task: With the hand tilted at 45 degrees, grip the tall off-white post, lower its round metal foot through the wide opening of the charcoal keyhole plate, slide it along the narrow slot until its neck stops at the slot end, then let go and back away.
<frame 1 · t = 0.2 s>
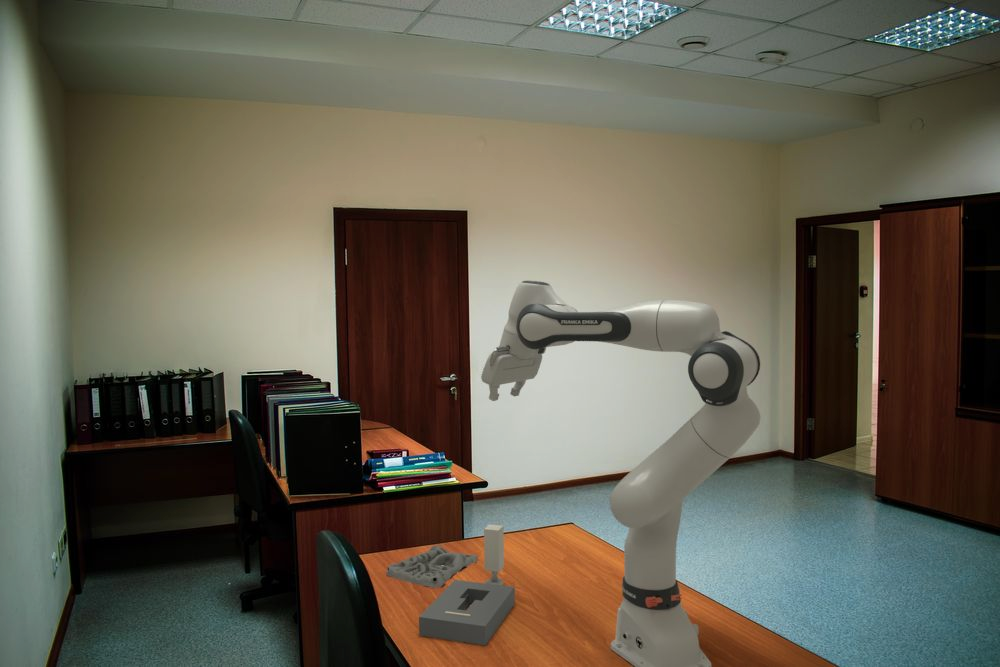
hand: (503, 397, 175), 52 cm above the table, tool tilted 20°, fingers open, 8 cm apart
post: (494, 587, 188), on the table
wall plaque: (436, 570, 202), on the table
keyhole plate: (469, 619, 170), on the table
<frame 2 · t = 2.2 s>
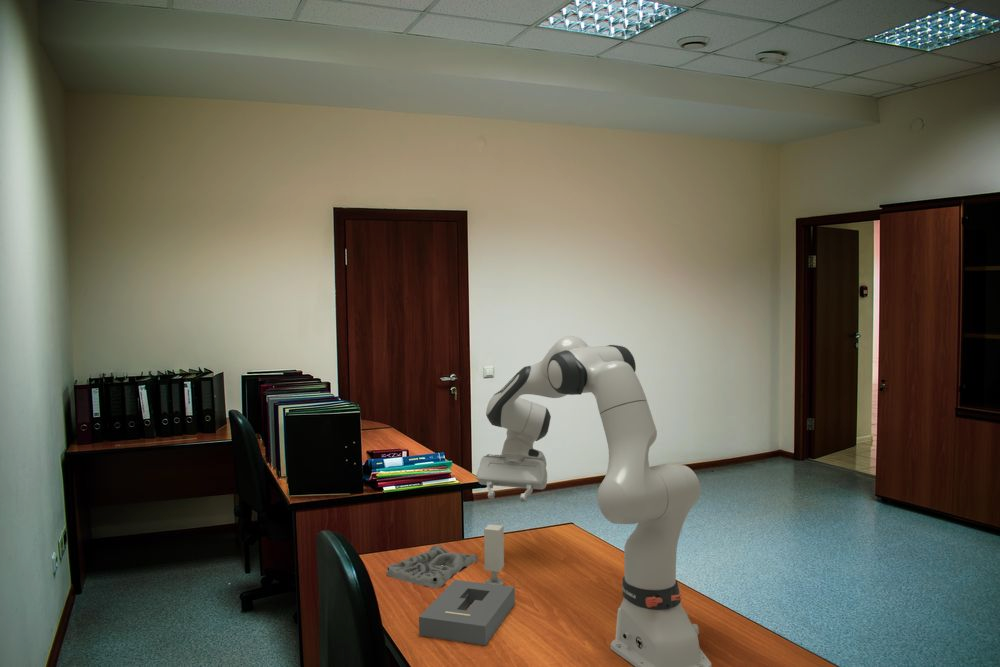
hand: (506, 499, 198), 20 cm above the table, tool tilted 45°, fingers open, 8 cm apart
nothing on the table moved.
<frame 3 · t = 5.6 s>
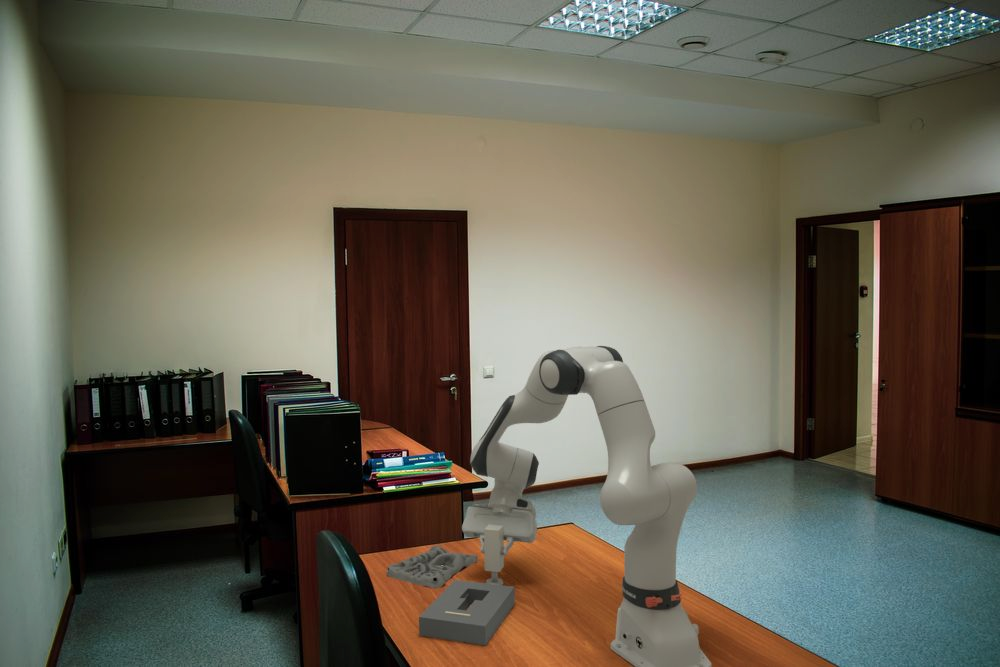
hand: (493, 553, 187), 9 cm above the table, tool tilted 45°, fingers closed on post, 4 cm apart
post: (494, 587, 188), on the table, touching gripper
everything else where it was.
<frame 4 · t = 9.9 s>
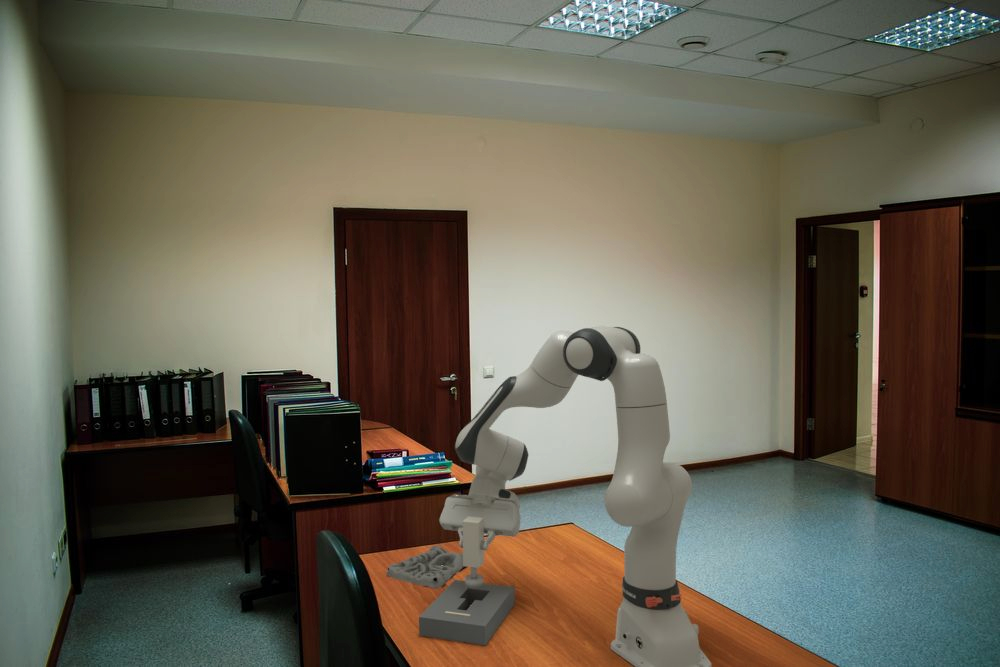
hand: (472, 548, 172), 16 cm above the table, tool tilted 45°, fingers closed on post, 4 cm apart
post: (474, 584, 173), point 7 cm above the table, touching gripper
everything else where it was.
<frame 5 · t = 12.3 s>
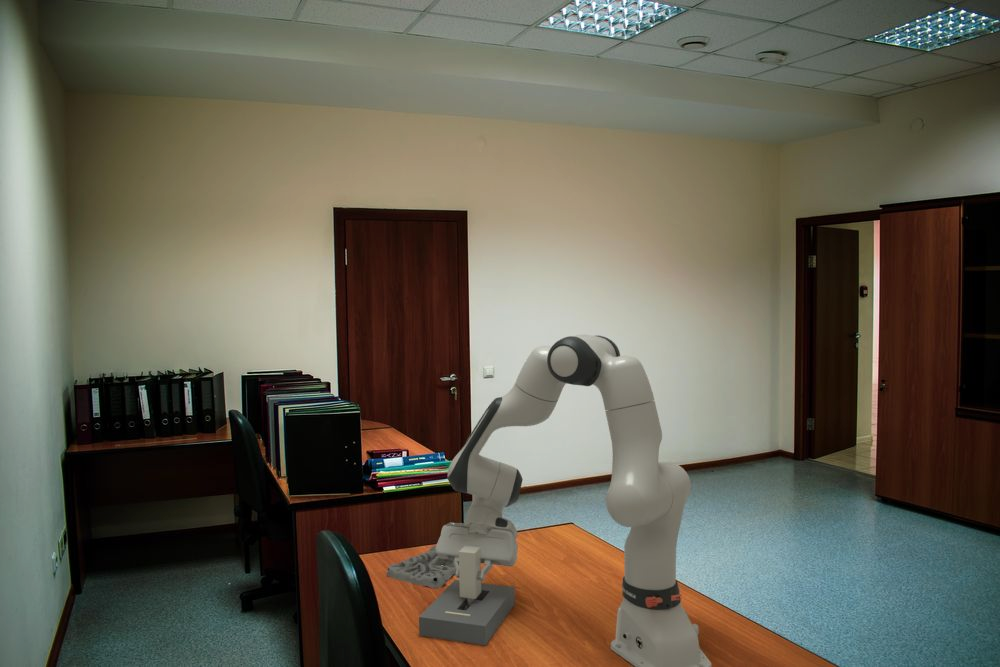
hand: (469, 578, 169), 10 cm above the table, tool tilted 45°, fingers closed on post, 4 cm apart
post: (471, 615, 171), resting in keyhole plate, touching gripper
everything else where it was.
when the fingers open (10 cm above the table, at t = 14.5 s): post stays where it is, resting in keyhole plate.
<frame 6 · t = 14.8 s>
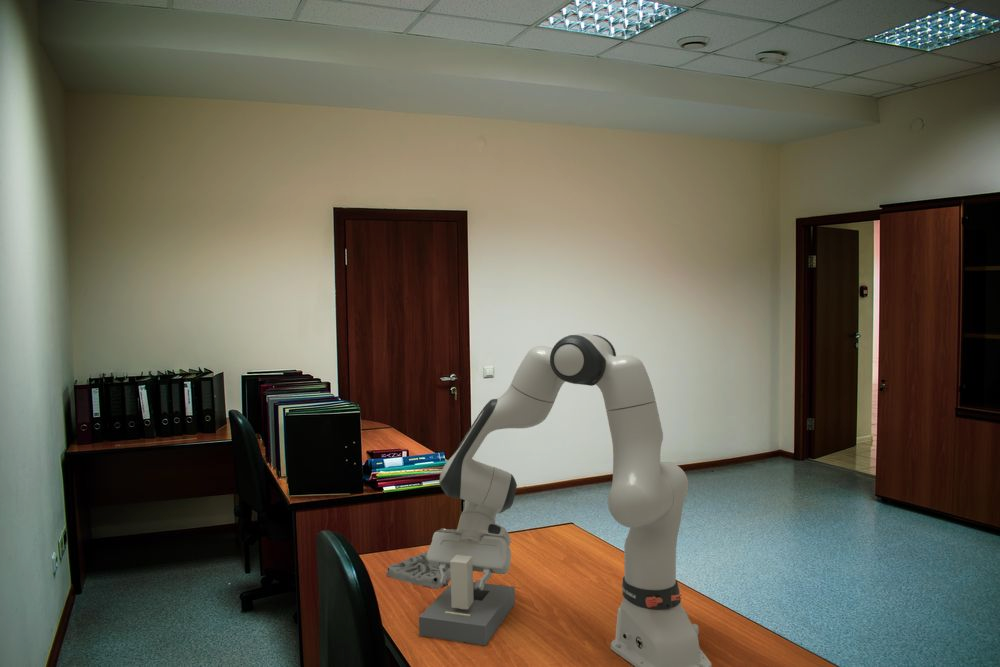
hand: (461, 586, 164), 10 cm above the table, tool tilted 45°, fingers open, 7 cm apart
post: (463, 625, 166), resting in keyhole plate
everything else where it was.
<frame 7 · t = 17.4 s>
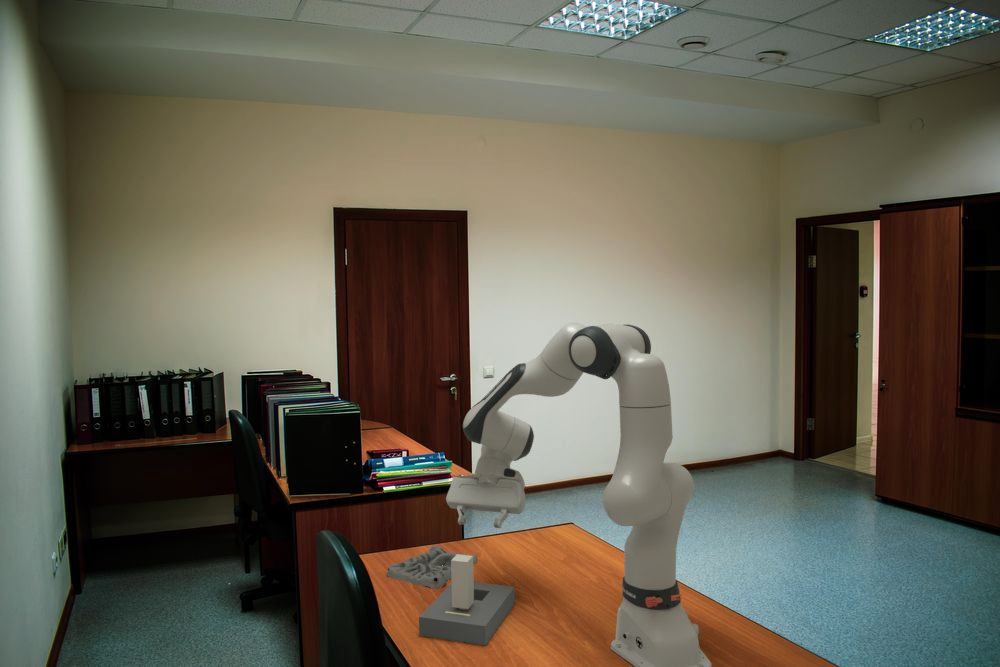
hand: (479, 525, 176), 20 cm above the table, tool tilted 45°, fingers open, 8 cm apart
nothing on the table moved.
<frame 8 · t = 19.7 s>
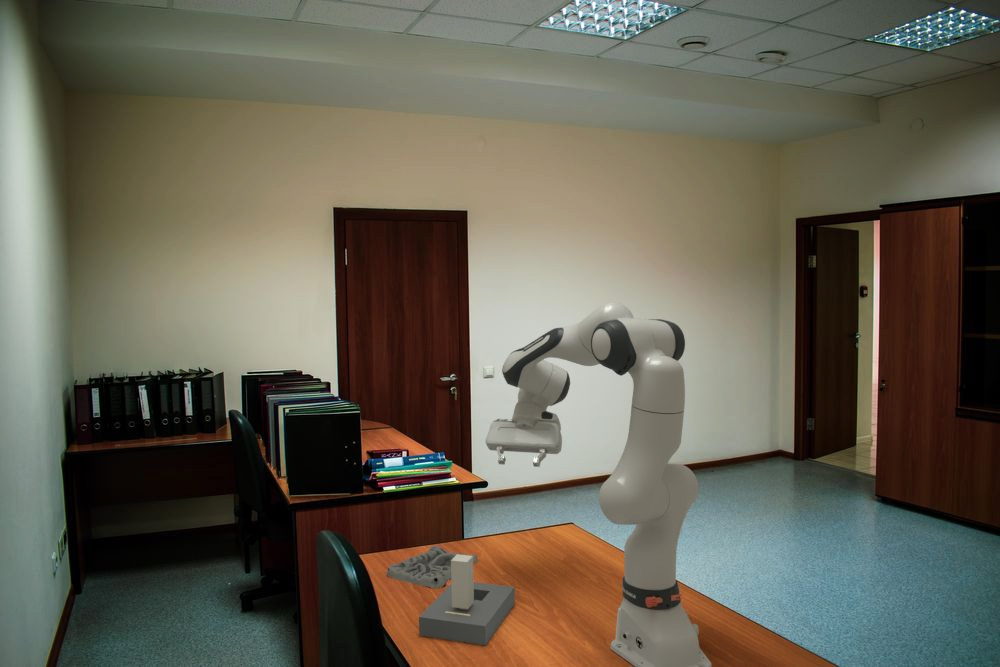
hand: (518, 464, 184), 33 cm above the table, tool tilted 45°, fingers open, 8 cm apart
nothing on the table moved.
at the end: post 0.6 cm from the target spot on the keyhole plate, point 0.0 cm above the keyhole plate's base; the gripper is holding nothing; post tilted 0° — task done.
